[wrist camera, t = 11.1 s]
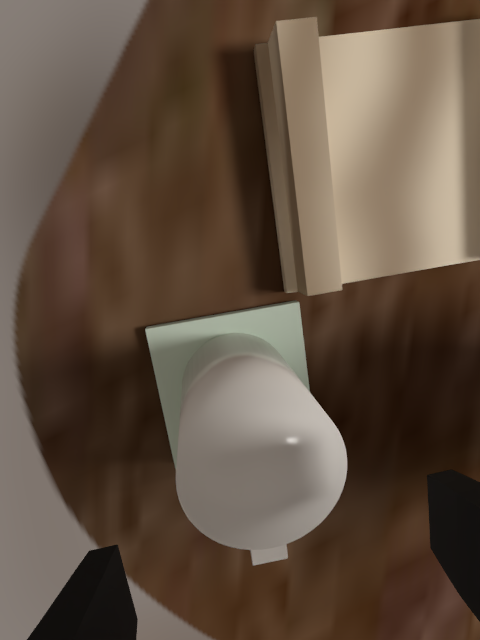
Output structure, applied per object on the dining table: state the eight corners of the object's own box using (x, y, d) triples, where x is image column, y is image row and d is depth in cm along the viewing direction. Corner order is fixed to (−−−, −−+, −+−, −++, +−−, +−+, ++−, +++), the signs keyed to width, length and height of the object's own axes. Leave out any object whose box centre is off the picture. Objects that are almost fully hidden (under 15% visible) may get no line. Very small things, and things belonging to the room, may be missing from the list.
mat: (296, 300, 18) (299, 302, 17) (312, 434, 19) (315, 439, 19) (146, 326, 17) (145, 329, 17) (175, 462, 19) (175, 468, 18)
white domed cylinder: (283, 325, 17) (342, 380, 11) (295, 451, 19) (354, 571, 12) (174, 341, 17) (162, 408, 10) (194, 470, 18) (196, 605, 11)
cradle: (523, 19, 16) (568, -11, 14) (520, 250, 19) (559, 252, 17) (253, 50, 15) (262, 22, 13) (284, 291, 18) (295, 297, 16)
